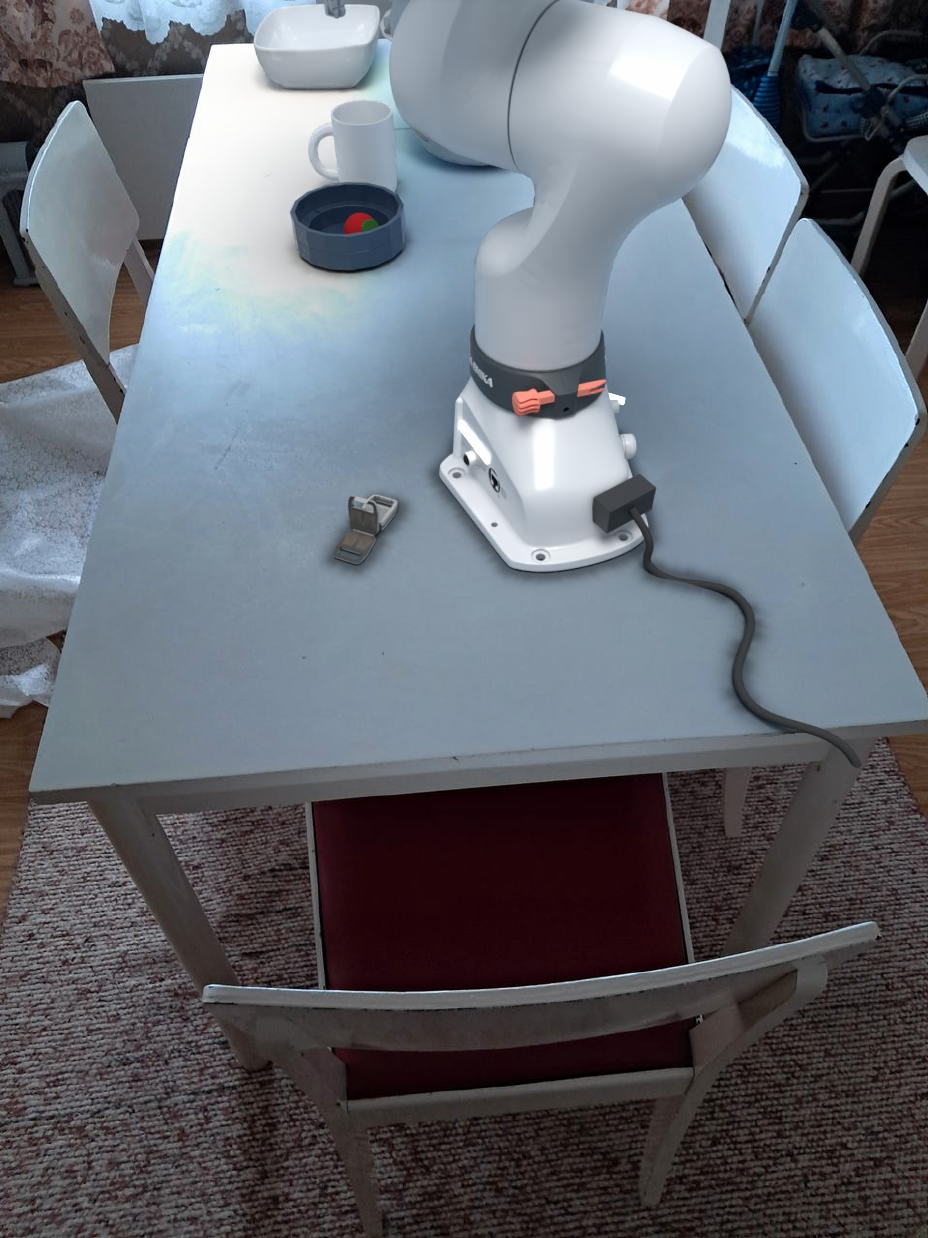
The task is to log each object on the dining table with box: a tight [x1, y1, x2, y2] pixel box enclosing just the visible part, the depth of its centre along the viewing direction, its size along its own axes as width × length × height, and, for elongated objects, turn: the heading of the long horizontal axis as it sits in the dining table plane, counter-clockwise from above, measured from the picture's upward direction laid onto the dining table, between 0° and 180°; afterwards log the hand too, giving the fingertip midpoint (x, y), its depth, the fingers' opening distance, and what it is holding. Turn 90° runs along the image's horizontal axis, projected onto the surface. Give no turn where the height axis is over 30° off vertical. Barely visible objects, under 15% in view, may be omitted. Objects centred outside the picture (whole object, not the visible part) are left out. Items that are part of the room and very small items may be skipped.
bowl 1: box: [253, 3, 381, 90], centre depth 148 cm, size 20×20×8 cm
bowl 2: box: [289, 182, 407, 271], centre depth 112 cm, size 14×14×5 cm
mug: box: [307, 99, 398, 193], centre depth 120 cm, size 12×8×10 cm
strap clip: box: [332, 493, 399, 565], centre depth 80 cm, size 8×3×4 cm, turn 157°
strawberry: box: [344, 213, 379, 234], centre depth 111 cm, size 4×4×5 cm
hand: (365, 25), depth 94 cm, fingers open, 8 cm apart
